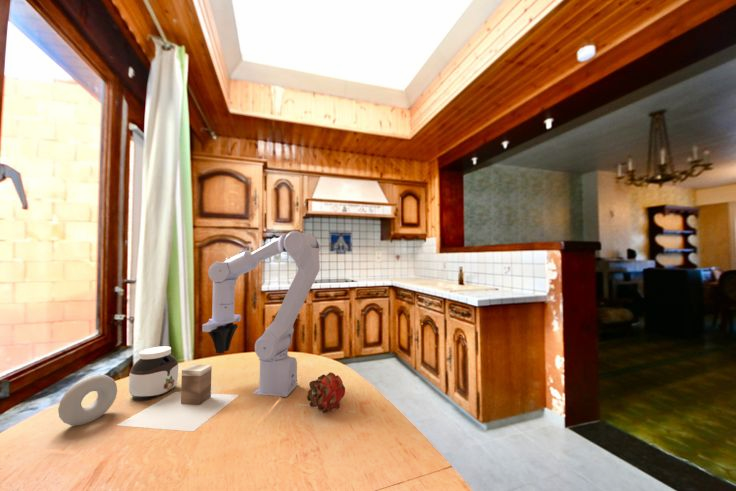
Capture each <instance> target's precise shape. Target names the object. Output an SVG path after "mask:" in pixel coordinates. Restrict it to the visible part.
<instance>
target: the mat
mask: <svg viewBox="0 0 736 491" xmlns="http://www.w3.org/2000/svg"><path fill="white" fill-rule="evenodd" d="M239 396H240V395H239V394H227V393H211V398H209V399H208V400H206V401H205V402H203V403H202V404H200V405H190V404H181V391H175V392H173V393H171V394H169V395H168V396H165V397H163V398H162V399H160V400H158V401H156V402H155V403H154V404H152V405H150V406H148V407H146V408H145V409H143V410H141V411H140V412H139V411H138V413H136V414H134V415H132V416H130V417H129V418H127V419H125V420H123V421H122V422H120V423H117V424H115V426H117V427H127V428H128V427H130V428H141V429H144V428H145V429H152V430H153V429H155V430H168V431H181V432H193V433H194V432H195V431H196V430H197V429H199V428H200V427H201V426H202V425H204V424H205V423H206V422H207V421H209V420H210V419H212V418H213V417H215V415H216V414H218V413H219V412H220V411H222V409H224V408H225V407H226V406H228V405H229V404H230V403H231V402H233V401H234V400H235V399H236V398H238V397H239Z"/></svg>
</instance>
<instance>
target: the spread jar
mask: <svg viewBox="0 0 736 491" xmlns="http://www.w3.org/2000/svg"><path fill="white" fill-rule="evenodd" d="M171 353H172V347H171V346H168V345H167V346H163V345H162V346H156V347H155V346H154V347H153V346H152V347H150V348H145V349H143V350H141V351H139V353H138V354H139V355H138V356H139V357H138V358H139V359H138V360H137V361H136V362H135V363H134V364H133V365H132V367H131V368H130V371H129V377H128V391H129V392H128V393H129V395H130V396H131V397H132V398H133V399H135V400H141V401H146V400H148V401H149V400H153V399H157V398H160V397H162V396H164V395H167V394H168V393H170V392H172V391H173V390H174V388H175V387H176V386H177V384H178V383H177V382H178V378H179V361H178V359H177V358H176V357H175V356H174V355H172V354H171Z"/></svg>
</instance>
